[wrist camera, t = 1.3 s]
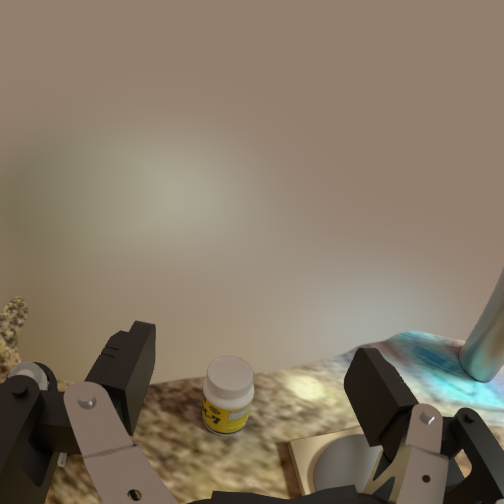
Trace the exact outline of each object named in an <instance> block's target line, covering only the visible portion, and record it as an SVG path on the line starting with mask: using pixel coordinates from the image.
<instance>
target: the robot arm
mask: <svg viewBox="0 0 504 504" xmlns="http://www.w3.org/2000/svg"><path fill="white" fill-rule="evenodd" d="M155 337H156V327H155V324H150V323H145V322H141V321H135V322H134V324H133V325H132V327H131V329H130V331H129V332H125V331H119V332H118V333H116V334H114V335H113V336H111V337H110V339H109V340H108V342H107V344H106V345H105V348H104V349H103V350H102V352H101V355H99V357H98V359H97V360H96V362H95V363H94V365H93V367H92V369H91V370H90V372H89V374H88V376H87V377H86V379H85V381H84V382H78V383H75V384H73V385H71V386H70V387H69V388H68V389H67V390H66V391H65V392H57V391H47V390H40V388H39V385H38V383H37V382H36V381H35V380H34V379H33V378H32V377H29V376H27V375H14V376H12V377H9V378H8V379H7V380H5V382H4V383H3V384H2V386H1V387H0V504H45V500H46V496H47V493H48V490H49V486H50V483H51V480H52V477H53V474H54V471H55V468H56V465H57V462H58V459H59V456H60V453H70V454H82V455H83V460H84V463H85V465H86V468H87V470H88V472H89V474H90V477H91V479H92V481H93V483H94V485H95V487H96V489H97V491H98V493H99V495H100V497H101V499H102V501H103V503H104V504H179V503H178V502H177V501H176V500H175V498H174V497H173V496H172V494H171V493H170V492H169V490H168V489H167V487H166V486H165V485H164V483H163V482H162V480H161V479H160V478H159V476H158V475H157V473H156V472H155V470H154V469H153V467H152V466H151V464H150V462H149V461H148V459H147V458H146V456H145V455H144V453H143V451H142V450H141V449H140V447H139V446H138V445H137V444H134V443H133V442H132V440H131V439H130V437H129V435H131V436H133V434H134V430H135V427H136V424H137V420H138V417H139V414H140V410H141V407H142V404H143V401H144V398H145V395H146V392H147V388H148V385H149V382H150V379H151V376H152V373H153V370H154V365H155ZM459 360H460V363H461V365H462V367H463V368H464V370H465V371H466V372H467V373H468V374H469V375H470V376H472V377H473V378H475V379H477V380H479V381H483V382H487V381H490V380H492V379H493V378H494V377H495V375H496V374H497V373H498V371H499V370H500V369H501V367H502V366H503V364H504V268H503V270H502V273H501V275H500V277H499V280H498V282H497V284H496V286H495V289H494V291H493V293H492V295H491V297H490V299H489V301H488V303H487V305H486V307H485V309H484V311H483V313H482V314H481V316H480V318H479V320H478V322H477V324H476V325H475V327H474V329H473V331H472V332H471V334H470V336H469V337H468V339H467V341H466V342H465V344H464V346H463V347H462V349H461V350H460V352H459ZM344 390H345V392H346V394H347V396H348V399H349V401H350V403H351V405H352V408H353V410H354V412H355V414H356V417H357V419H358V421H359V423H360V426H361V428H362V430H363V433H364V435H365V437H366V439H367V442H368V444H369V446H370V447H375V446H380V445H381V446H382V448H383V449H382V450H381V451H380V452H379V454H378V457H377V460H376V462H375V465H374V467H373V470H372V473H371V475H370V477H369V480H368V482H367V485H366V487H365V488H364V490H363V491H362V492H361V493H360V492H357V490H356V487H355V484H353V485H347V486H341V487H334V488H327V489H322V490H320V491H317V492H314V493H311V494H308V495H305V496H302V497H298V498H295V499H281V498H275V497H270V496H264V495H259V494H255V493H242V492H223V491H213V493H212V497H211V499H203V500H198V501H193V502H190V503H187V504H504V451H503V449H502V448H501V446H500V445H499V443H498V442H497V440H496V439H495V437H494V436H493V434H492V433H491V431H490V430H489V428H488V427H487V425H486V424H485V423H484V421H483V420H482V418H481V417H480V416H479V414H478V413H477V412H475V411H474V410H472V409H470V408H461V409H459V410H458V412H457V413H456V414H455V416H454V417H442V415H441V414H440V412H439V411H438V410H437V409H436V408H435V407H433V406H431V405H428V404H419V402H418V401H417V399H416V398H415V396H414V395H413V393H412V392H411V390H410V389H409V387H408V386H407V385H406V383H404V380H403V379H402V377H401V376H400V374H399V373H398V372H397V370H396V369H395V367H394V366H392V365H391V364H390V363H389V362H387V361H386V360H385V359H384V358H383V356H382V355H381V354H380V352H379V351H378V349H376V348H359V349H358V350H357V351H356V353H355V356H354V358H353V360H352V362H351V364H350V367H349V369H348V371H347V373H346V375H345V378H344ZM462 449H463V450H464V452H465V453H466V455H467V457H468V459H469V460H470V462H471V464H472V470H471V473H470V474H469V475H468V476H467V477H466V478H464V476H463V474H462V472H461V470H460V468H459V466H458V465H457V463H456V461H455V459H454V457H455V456H456V455H457V454H458V453H459V452H460V451H461V450H462Z"/></svg>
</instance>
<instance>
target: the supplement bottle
mask: <svg viewBox="0 0 504 504" xmlns="http://www.w3.org/2000/svg"><path fill="white" fill-rule="evenodd" d="M253 377H254V373H253V370H252V368H251V366H250V365H249V364H248V363H247V362H246V361H245V360H243V359H240V358H238V357H234V356H223V357H219V358H217V359H215V360H213V361H212V362H211V363H210V365H209V367H208V369H207V376H206V378H205V380H204V382H203V387H202V418H203V422H204V424H205V426H206V427H207V428H208V429H209V430H210V431H211V432H213V433H215V434H217V435H221V436H231V435H235V434H237V433H239V432H240V431H242V430H243V428H244V427H245V426H246V423H247V420H248V416H249V412H250V408H251V404H252V400H253V396H254V385H253Z"/></svg>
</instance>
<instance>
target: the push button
mask: <svg viewBox="0 0 504 504" xmlns="http://www.w3.org/2000/svg"><path fill="white" fill-rule="evenodd" d="M14 375H27V376H29V377H32V378H33V379H34V380H35V381H36V382H37V383H38V385H39V388H40V390H47V391H57V392H58V389H57V381H56V378H55V376H54V374H53V372H52V371H51V370H50V369H49V368H48V367H47V366H45V365H43V364H41V363H37V362H22V363H19V364H17V365H16V366H15V367H13V368H12V369H11V371H10V373H9V374H8V377H7V379H8V378H9V377H12V376H14ZM7 379H6V380H7ZM47 381H49V382H50V385H49V384H48V382H47ZM67 455H71V454H70V453H60V456H59V459H58V462H57V463H58V466H59V467H65V458H66V459H67ZM62 461H63V464H61V463H62Z"/></svg>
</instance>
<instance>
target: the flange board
mask: <svg viewBox="0 0 504 504" xmlns="http://www.w3.org/2000/svg"><path fill="white" fill-rule="evenodd" d="M288 449H289V453H290V456H291V460H292V464H293V467H294V471H295V474H296V478H297V482H298V485H299V489H300V492H301V496H305V495H308V494H311V493H314V492H317V491H320V490H322V489H327V488H334V487H341V486H347V485H353V484H355V487H356V490H357V492H360V493H361V492H362V491H363V490H364V488H365V487H366V485H367V482H368V480H369V477H370V475H371V473H372V470H373V467H374V465H375V462H376V460H377V457H378V454H379V452H380V451H381V450H382V449H383V448H382V446H381V445H380V446H375V447H370V446H369V444H368V442H367V439H366V437H365V435H364V433H363V430H362V428H361V427H357V428H353V429H349V430H345V431H340V432H336V433H331V434H326V435H321V436H315V437H310V438H304V439H297V440H290V442H289V443H288Z"/></svg>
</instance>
